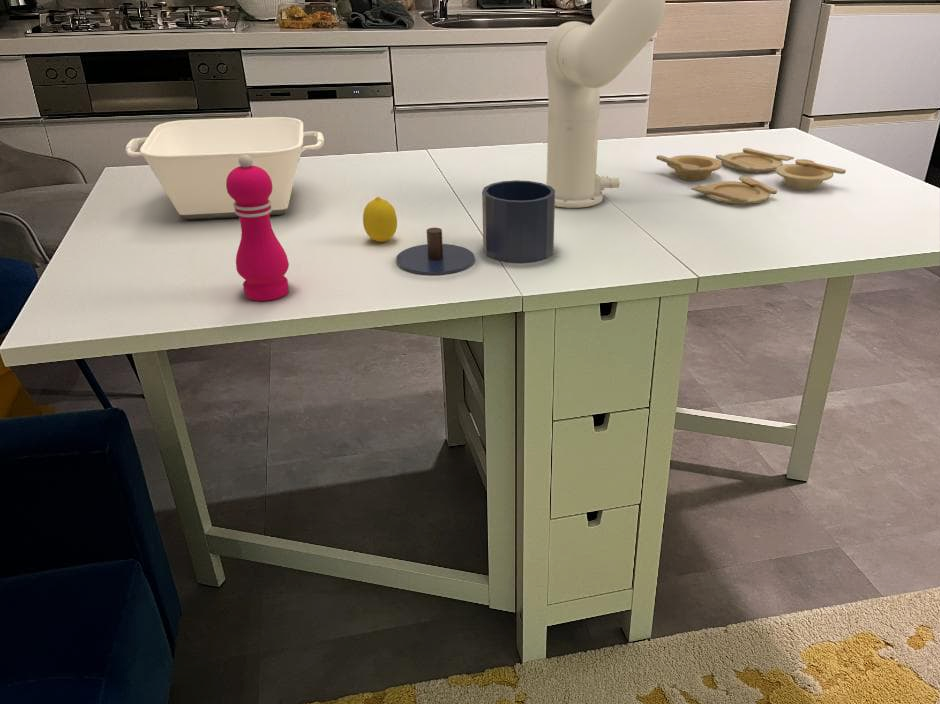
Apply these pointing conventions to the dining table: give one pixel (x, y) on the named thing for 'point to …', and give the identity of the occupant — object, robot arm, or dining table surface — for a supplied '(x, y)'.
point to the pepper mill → (257, 234)
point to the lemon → (379, 220)
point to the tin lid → (435, 256)
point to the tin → (518, 221)
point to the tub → (222, 160)
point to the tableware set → (749, 189)
